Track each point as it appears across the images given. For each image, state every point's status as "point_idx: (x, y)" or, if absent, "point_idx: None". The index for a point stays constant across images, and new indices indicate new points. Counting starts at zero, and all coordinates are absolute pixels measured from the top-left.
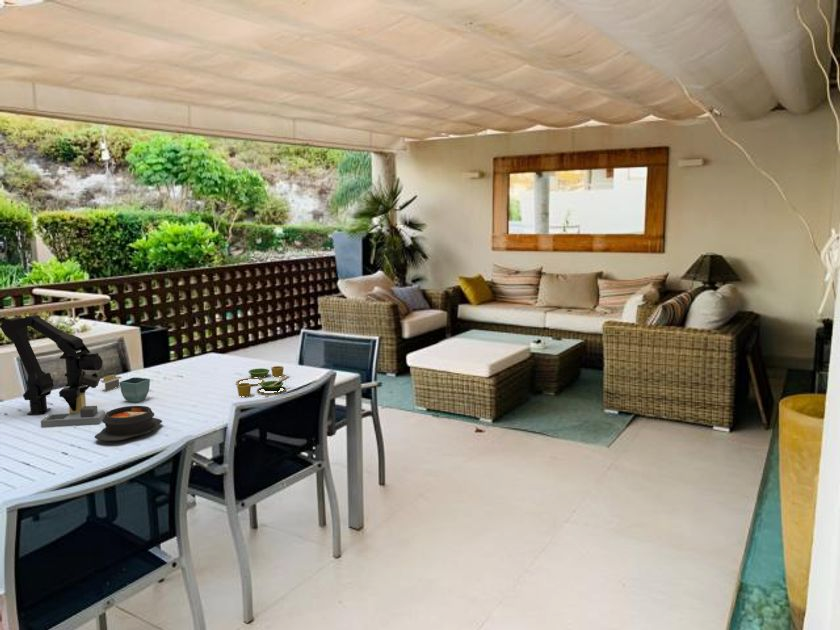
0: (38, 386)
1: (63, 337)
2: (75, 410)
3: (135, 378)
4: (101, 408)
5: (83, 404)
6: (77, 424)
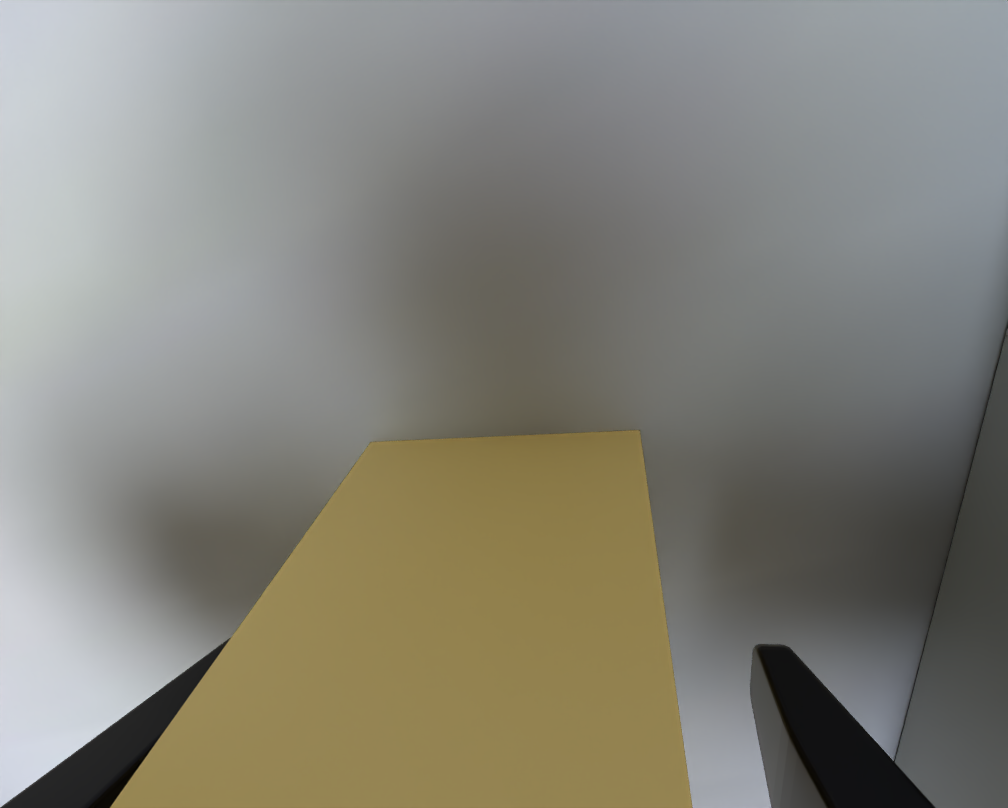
0: None
1: None
2: (789, 654)
3: None
4: (78, 196)
5: (477, 616)
6: None
